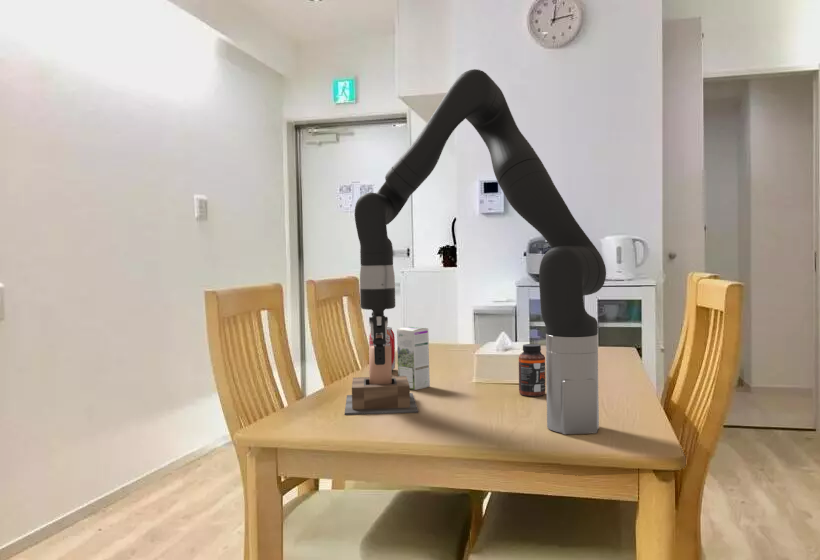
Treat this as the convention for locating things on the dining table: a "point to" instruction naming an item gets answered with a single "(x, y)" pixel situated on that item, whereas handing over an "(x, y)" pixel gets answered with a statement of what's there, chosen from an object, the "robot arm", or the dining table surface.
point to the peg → (380, 368)
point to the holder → (380, 397)
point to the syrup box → (414, 356)
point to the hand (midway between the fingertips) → (379, 361)
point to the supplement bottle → (532, 371)
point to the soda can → (388, 344)
